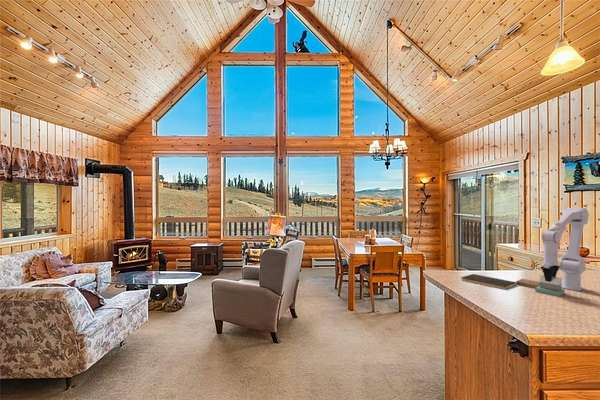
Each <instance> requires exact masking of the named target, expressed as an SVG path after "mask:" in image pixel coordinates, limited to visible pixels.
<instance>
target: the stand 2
mask: <svg viewBox="0 0 600 400" xmlns="http://www.w3.org/2000/svg"><path fill="white" fill-rule="evenodd" d="M534 289H535V291H534V292H535V293H540V294H545V295H549V296H556V297H561V296H563V295H564V294H565V292H566V291H565V288H561V290H560V291H555V290H550V289H545V288H540V286H538V287H536V288H534Z"/></svg>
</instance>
